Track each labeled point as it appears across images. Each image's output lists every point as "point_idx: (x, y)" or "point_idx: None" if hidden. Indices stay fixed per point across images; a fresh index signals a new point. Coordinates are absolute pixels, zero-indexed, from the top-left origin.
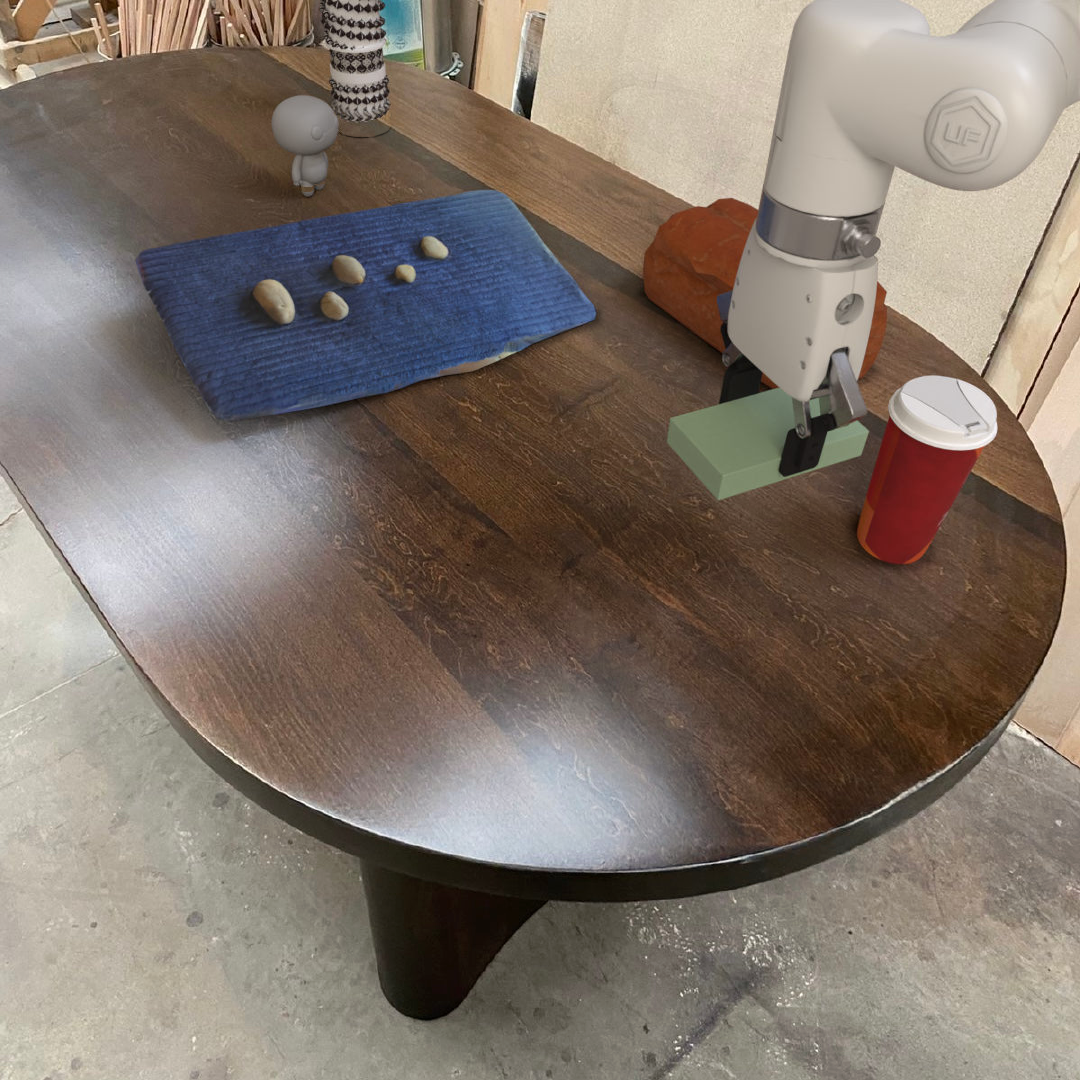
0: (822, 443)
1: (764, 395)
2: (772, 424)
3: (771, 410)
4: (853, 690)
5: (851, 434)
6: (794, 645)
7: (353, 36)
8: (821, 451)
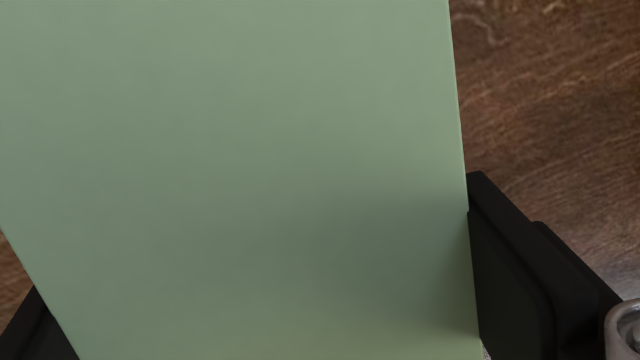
0: (599, 283)
1: (72, 298)
2: (286, 317)
3: (192, 300)
4: (603, 11)
5: (437, 7)
6: (488, 75)
7: None
8: (505, 198)
